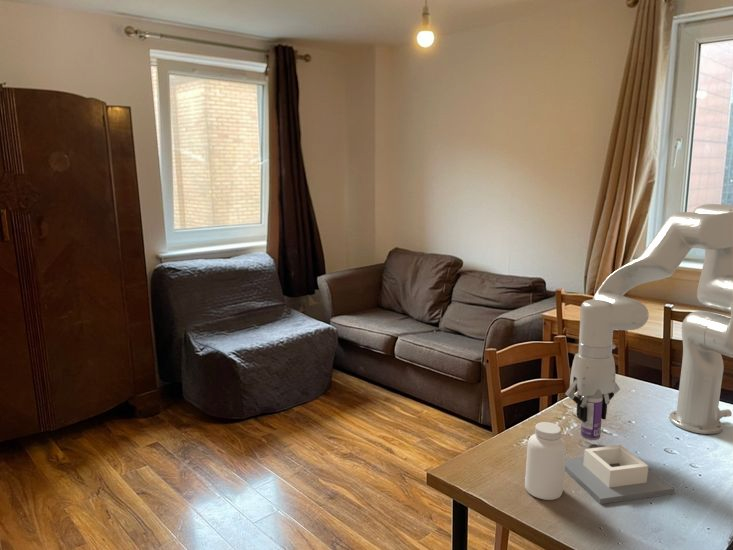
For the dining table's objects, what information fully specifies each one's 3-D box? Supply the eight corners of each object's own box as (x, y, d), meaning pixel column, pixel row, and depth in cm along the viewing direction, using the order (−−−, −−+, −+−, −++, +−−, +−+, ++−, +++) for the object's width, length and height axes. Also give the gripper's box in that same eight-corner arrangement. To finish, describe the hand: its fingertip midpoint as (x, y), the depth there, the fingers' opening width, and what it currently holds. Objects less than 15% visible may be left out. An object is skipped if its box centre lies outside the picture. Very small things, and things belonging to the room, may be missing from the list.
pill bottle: (558, 505, 114) (563, 439, 111) (520, 493, 118) (523, 429, 115) (566, 487, 121) (571, 424, 118) (530, 476, 125) (534, 415, 122)
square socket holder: (625, 456, 133) (627, 436, 132) (674, 493, 118) (676, 471, 117) (558, 464, 130) (560, 444, 129) (600, 504, 115) (601, 481, 114)
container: (597, 431, 141) (600, 376, 138) (602, 440, 136) (606, 384, 133) (578, 431, 141) (581, 376, 138) (583, 440, 137) (586, 384, 134)
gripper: (615, 341, 139) (611, 408, 143) (555, 348, 136) (552, 416, 140) (635, 351, 132) (630, 420, 136) (572, 358, 129) (569, 429, 133)
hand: (591, 417), depth 138 cm, fingers closed on container, 4 cm apart
